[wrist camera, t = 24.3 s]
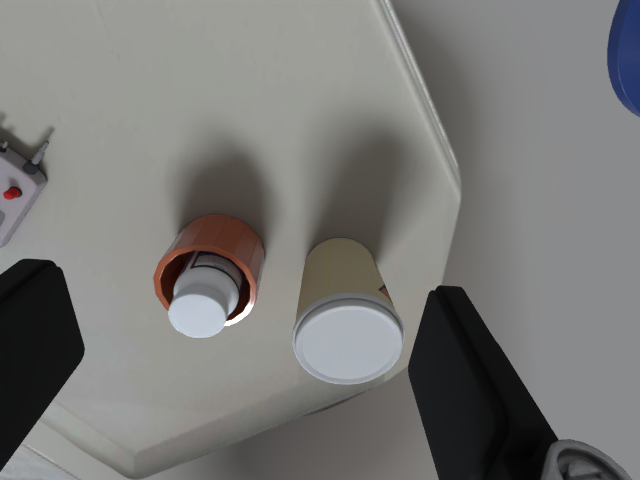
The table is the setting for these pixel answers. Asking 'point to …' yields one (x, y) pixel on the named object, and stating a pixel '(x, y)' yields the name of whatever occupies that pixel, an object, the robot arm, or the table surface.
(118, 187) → the table surface
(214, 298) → the pill bottle
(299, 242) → the table surface
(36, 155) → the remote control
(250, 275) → the pen cup
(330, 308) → the coffee cup
